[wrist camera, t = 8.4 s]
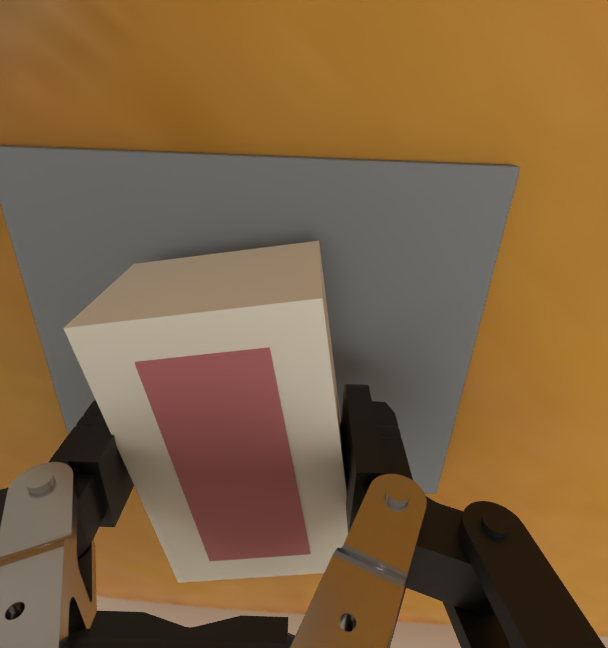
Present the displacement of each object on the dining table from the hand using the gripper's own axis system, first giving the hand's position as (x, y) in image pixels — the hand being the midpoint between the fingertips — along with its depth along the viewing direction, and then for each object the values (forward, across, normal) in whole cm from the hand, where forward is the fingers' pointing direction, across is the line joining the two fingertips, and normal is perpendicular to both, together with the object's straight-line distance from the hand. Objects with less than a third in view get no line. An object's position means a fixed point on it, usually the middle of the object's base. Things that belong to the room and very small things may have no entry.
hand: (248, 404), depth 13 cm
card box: (+1, 0, 0) cm, 1 cm away
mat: (+3, 0, 0) cm, 3 cm away
